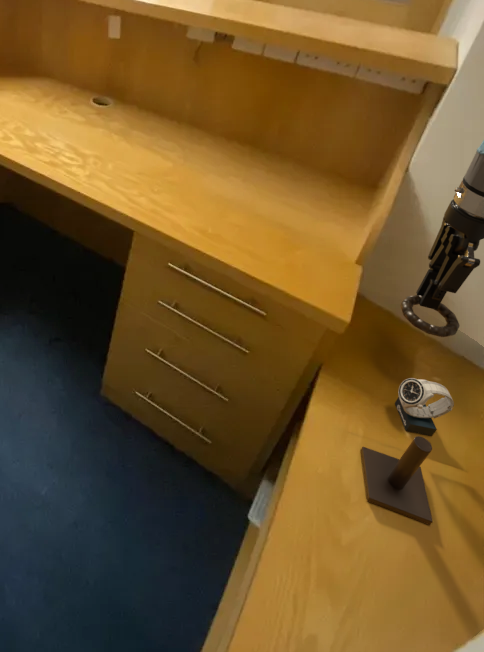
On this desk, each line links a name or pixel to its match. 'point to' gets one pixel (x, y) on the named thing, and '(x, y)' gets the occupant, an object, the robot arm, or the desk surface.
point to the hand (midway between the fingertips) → (426, 300)
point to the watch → (421, 405)
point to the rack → (398, 480)
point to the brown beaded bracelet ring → (426, 327)
